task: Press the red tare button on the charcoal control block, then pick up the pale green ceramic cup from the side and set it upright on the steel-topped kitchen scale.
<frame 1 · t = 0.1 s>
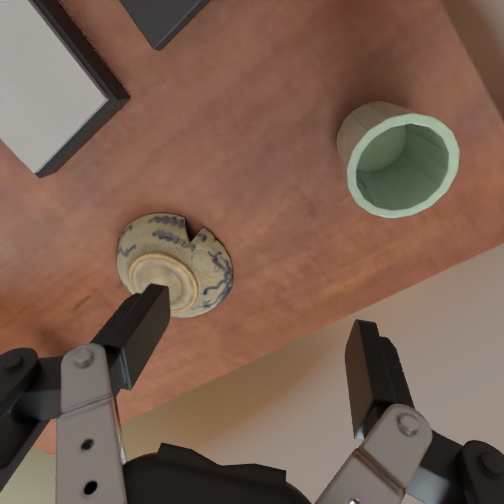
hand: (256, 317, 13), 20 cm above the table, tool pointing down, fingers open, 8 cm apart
scale: (40, 79, 29), on the table
decorative bowl: (175, 267, 38), on the table
cup: (372, 140, 27), on the table
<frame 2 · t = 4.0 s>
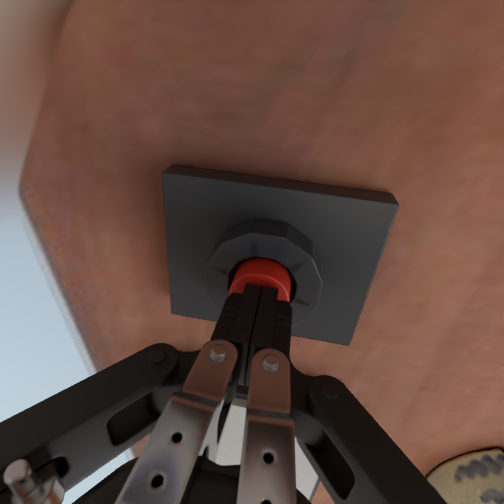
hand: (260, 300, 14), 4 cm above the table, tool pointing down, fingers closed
scale: (247, 417, 26), on the table
tare button: (260, 289, 15), point 3 cm above the table, slide at -0.1 cm, touching gripper
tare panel: (268, 255, 18), on the table
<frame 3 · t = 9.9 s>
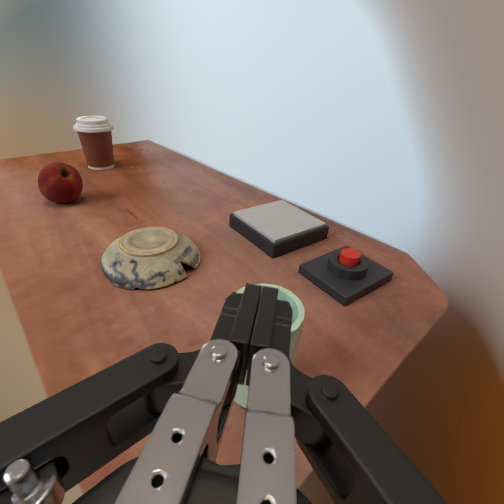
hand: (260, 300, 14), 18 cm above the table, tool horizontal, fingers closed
coffee cup: (101, 166, 83), on the table
apple: (65, 202, 63), on the table
scale: (277, 231, 58), on the table
decorative bowl: (151, 260, 48), on the table
tare button: (349, 257, 45), point 3 cm above the table, slide at 0.1 cm
cup: (257, 381, 31), on the table
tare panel: (344, 275, 47), on the table
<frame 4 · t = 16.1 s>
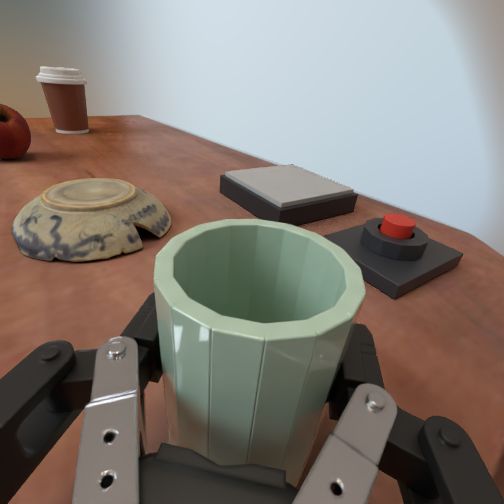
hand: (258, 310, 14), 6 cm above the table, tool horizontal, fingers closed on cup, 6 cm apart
coffee cup: (73, 132, 68), on the table
apple: (8, 159, 48), on the table
scale: (284, 201, 42), on the table
decorative bowl: (97, 225, 32), on the table
tare button: (397, 226, 29), point 3 cm above the table, slide at 0.1 cm
cup: (239, 437, 15), on the table, touching gripper
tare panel: (386, 257, 31), on the table
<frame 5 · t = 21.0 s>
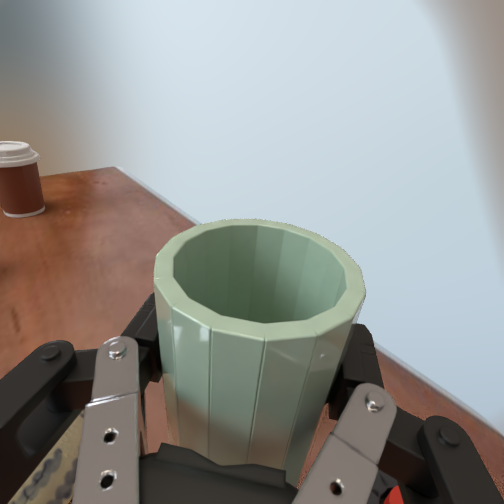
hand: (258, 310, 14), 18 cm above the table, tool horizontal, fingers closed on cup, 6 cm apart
coffee cup: (25, 211, 59), on the table
cup: (239, 438, 15), point 12 cm above the table, touching gripper
when the fingers open (9 cm above the table, at t = 25.8 s): cup stays where it is, resting on scale.
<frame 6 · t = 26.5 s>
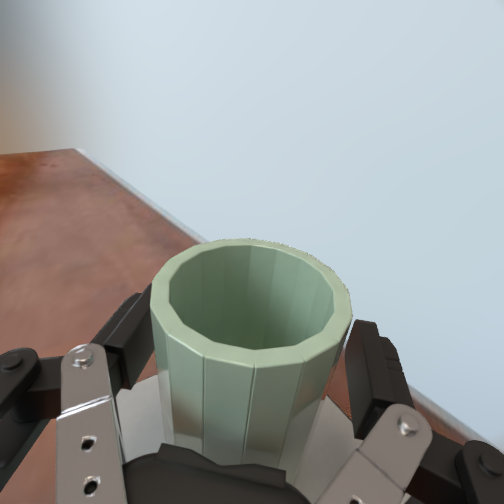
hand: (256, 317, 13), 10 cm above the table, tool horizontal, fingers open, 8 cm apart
scale: (233, 476, 17), on the table
cup: (235, 448, 15), point 3 cm above the table, touching scale
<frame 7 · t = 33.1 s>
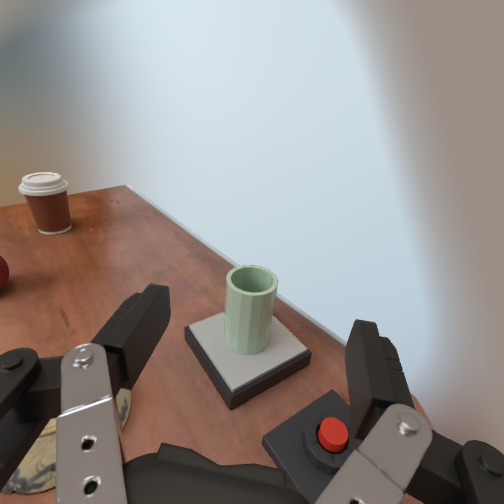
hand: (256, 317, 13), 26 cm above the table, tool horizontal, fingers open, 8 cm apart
coffee cup: (55, 229, 71), on the table
scale: (245, 351, 44), on the table
decorative bowl: (60, 416, 35), on the table
tare button: (332, 434, 32), point 3 cm above the table, slide at 0.1 cm
cup: (246, 337, 43), point 3 cm above the table, touching scale
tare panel: (326, 451, 33), on the table
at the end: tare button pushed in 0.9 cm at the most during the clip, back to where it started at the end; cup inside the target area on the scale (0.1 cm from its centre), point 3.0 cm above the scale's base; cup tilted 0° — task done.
